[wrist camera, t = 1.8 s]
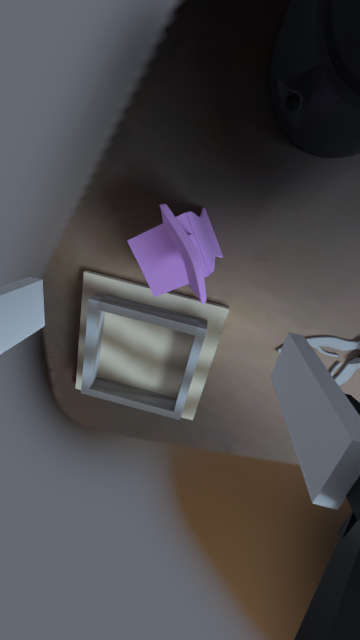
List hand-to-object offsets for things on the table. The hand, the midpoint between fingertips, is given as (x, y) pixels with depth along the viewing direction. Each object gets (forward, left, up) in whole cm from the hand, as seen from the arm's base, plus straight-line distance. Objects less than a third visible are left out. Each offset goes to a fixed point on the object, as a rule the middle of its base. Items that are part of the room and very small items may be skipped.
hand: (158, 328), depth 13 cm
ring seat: (+15, -4, -21) cm, 26 cm away
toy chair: (-1, -2, -21) cm, 21 cm away
